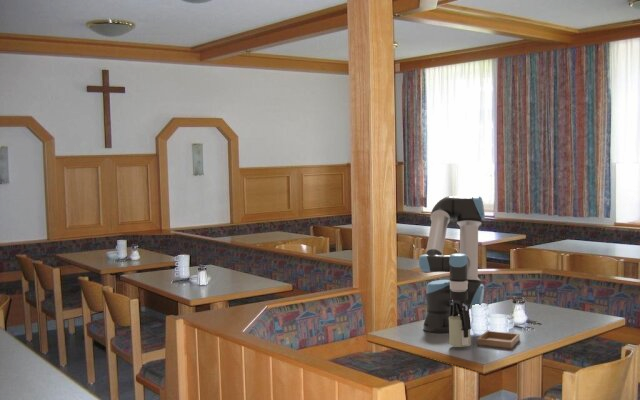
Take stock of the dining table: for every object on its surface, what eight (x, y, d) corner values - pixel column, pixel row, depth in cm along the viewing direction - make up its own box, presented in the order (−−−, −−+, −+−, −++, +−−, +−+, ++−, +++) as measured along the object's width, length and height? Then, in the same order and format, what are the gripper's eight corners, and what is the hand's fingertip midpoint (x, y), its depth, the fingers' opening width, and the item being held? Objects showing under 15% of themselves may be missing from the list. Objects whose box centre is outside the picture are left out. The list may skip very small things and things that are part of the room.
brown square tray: (477, 345, 304) (477, 338, 304) (487, 337, 316) (487, 330, 316) (511, 349, 297) (511, 342, 296) (519, 340, 309) (519, 334, 309)
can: (469, 340, 305) (469, 313, 304) (471, 346, 296) (471, 319, 295) (448, 341, 306) (447, 314, 305) (449, 346, 297) (449, 319, 296)
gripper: (479, 294, 290) (479, 347, 291) (455, 284, 311) (456, 334, 312) (462, 295, 288) (463, 349, 289) (439, 286, 309) (441, 336, 310)
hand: (459, 341), depth 301 cm, fingers closed on can, 9 cm apart
